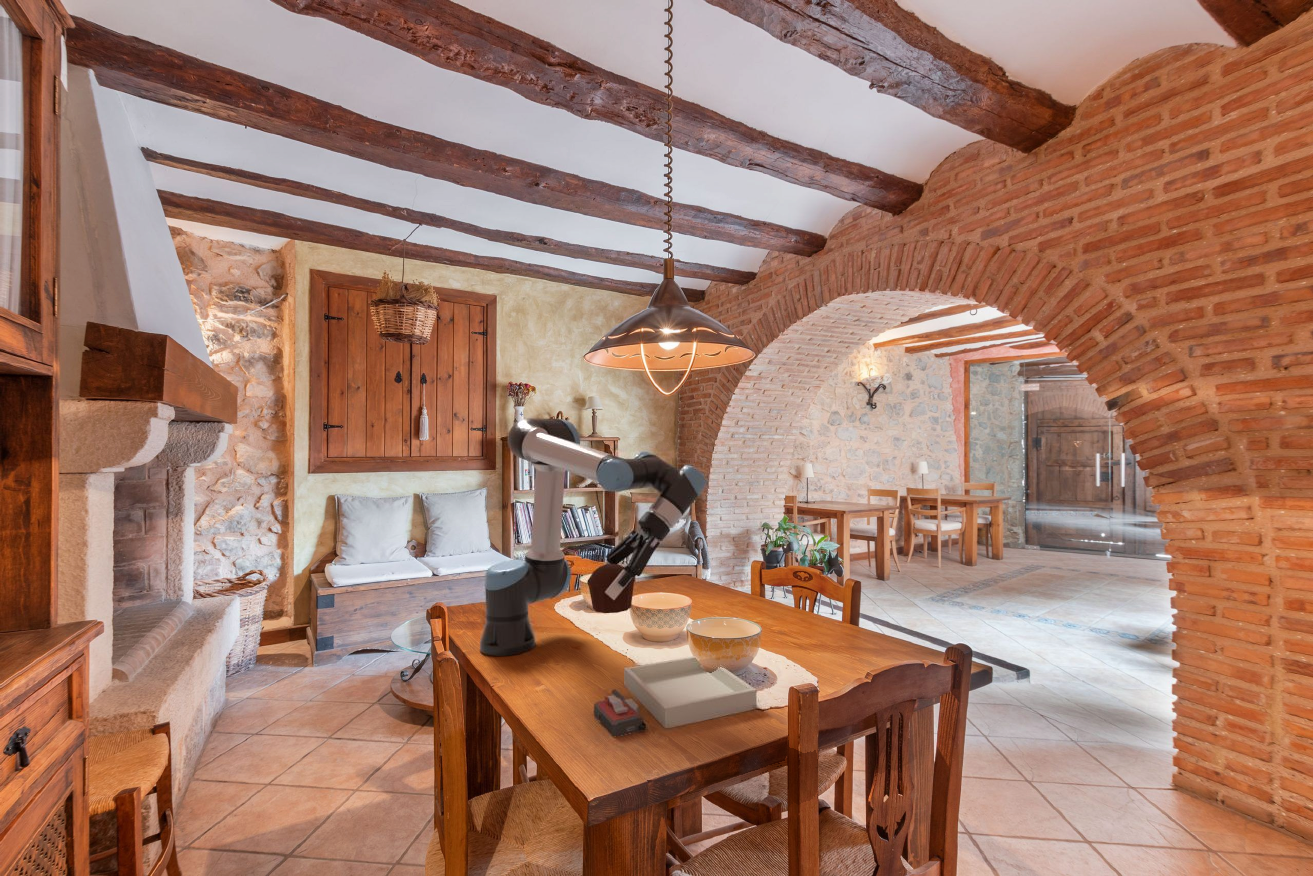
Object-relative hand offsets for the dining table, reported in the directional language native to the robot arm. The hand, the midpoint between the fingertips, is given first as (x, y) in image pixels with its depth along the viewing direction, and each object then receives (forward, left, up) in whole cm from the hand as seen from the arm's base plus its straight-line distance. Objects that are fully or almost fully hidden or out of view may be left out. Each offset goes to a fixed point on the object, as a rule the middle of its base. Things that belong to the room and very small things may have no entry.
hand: (601, 590), depth 142 cm
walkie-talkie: (+16, -2, -23) cm, 28 cm away
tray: (+14, +15, -22) cm, 30 cm away
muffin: (0, +3, -5) cm, 5 cm away
